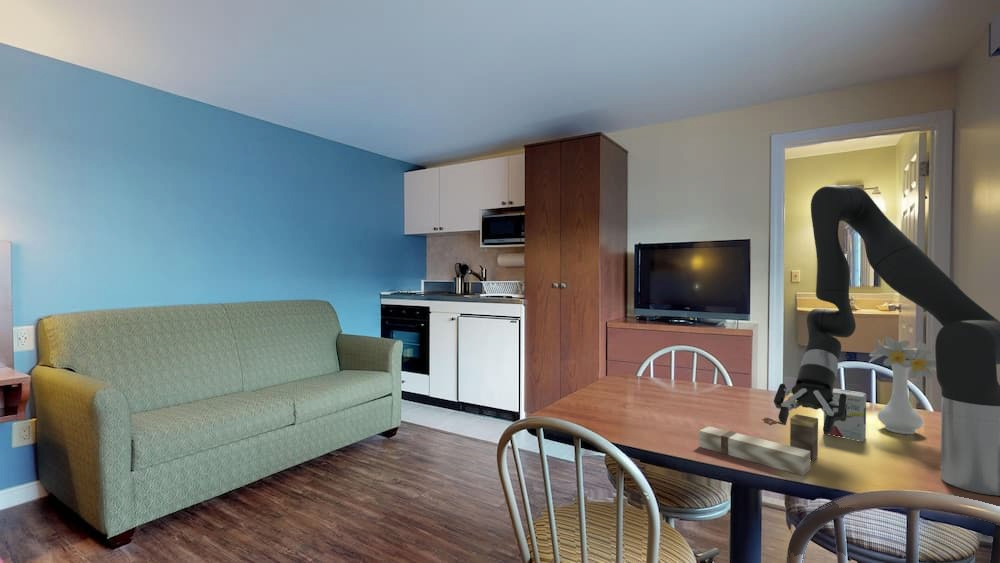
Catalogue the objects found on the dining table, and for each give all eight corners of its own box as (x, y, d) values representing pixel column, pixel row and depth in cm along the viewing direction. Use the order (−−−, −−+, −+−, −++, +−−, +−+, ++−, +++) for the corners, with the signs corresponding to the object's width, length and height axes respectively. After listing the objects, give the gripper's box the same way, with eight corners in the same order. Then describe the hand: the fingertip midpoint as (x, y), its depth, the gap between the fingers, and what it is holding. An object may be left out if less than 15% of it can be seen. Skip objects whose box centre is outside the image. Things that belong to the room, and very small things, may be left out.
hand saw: (715, 403, 152) (715, 401, 152) (727, 403, 152) (727, 401, 152) (769, 426, 128) (769, 424, 128) (783, 425, 129) (783, 423, 129)
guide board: (810, 469, 98) (810, 450, 98) (803, 476, 95) (803, 456, 95) (708, 441, 115) (708, 425, 115) (699, 446, 111) (699, 430, 111)
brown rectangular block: (817, 457, 105) (818, 418, 105) (812, 462, 102) (812, 422, 102) (795, 451, 109) (796, 414, 109) (790, 456, 106) (790, 417, 106)
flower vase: (904, 443, 114) (905, 344, 114) (854, 420, 133) (855, 335, 132) (960, 445, 113) (961, 345, 113) (902, 421, 131) (902, 335, 131)
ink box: (822, 434, 121) (822, 390, 121) (826, 429, 124) (826, 387, 124) (863, 442, 115) (863, 396, 115) (866, 437, 118) (866, 392, 118)
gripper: (782, 358, 117) (765, 411, 109) (850, 367, 106) (838, 426, 98) (788, 376, 120) (773, 428, 113) (855, 386, 110) (843, 445, 102)
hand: (803, 427), depth 106 cm, fingers open, 8 cm apart
